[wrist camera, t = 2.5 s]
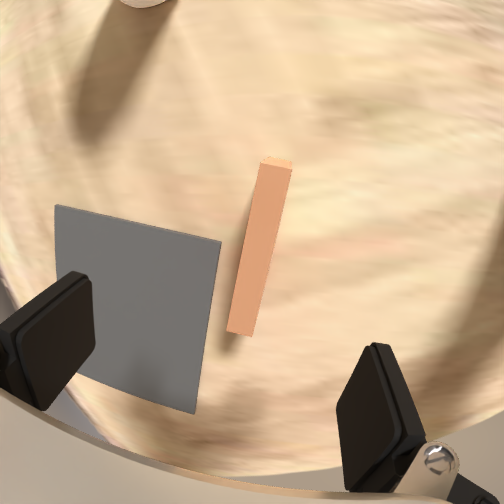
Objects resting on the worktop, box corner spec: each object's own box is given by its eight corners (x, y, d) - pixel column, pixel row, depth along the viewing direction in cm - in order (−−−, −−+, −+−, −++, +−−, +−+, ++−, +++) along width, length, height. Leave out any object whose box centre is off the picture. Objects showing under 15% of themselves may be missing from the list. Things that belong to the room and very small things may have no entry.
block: (269, 156, 22) (260, 162, 15) (291, 161, 22) (292, 169, 15) (242, 282, 25) (226, 330, 19) (262, 287, 25) (252, 337, 19)
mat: (57, 204, 25) (54, 205, 25) (221, 241, 24) (220, 243, 24) (71, 367, 32) (69, 369, 32) (195, 412, 31) (194, 414, 31)
